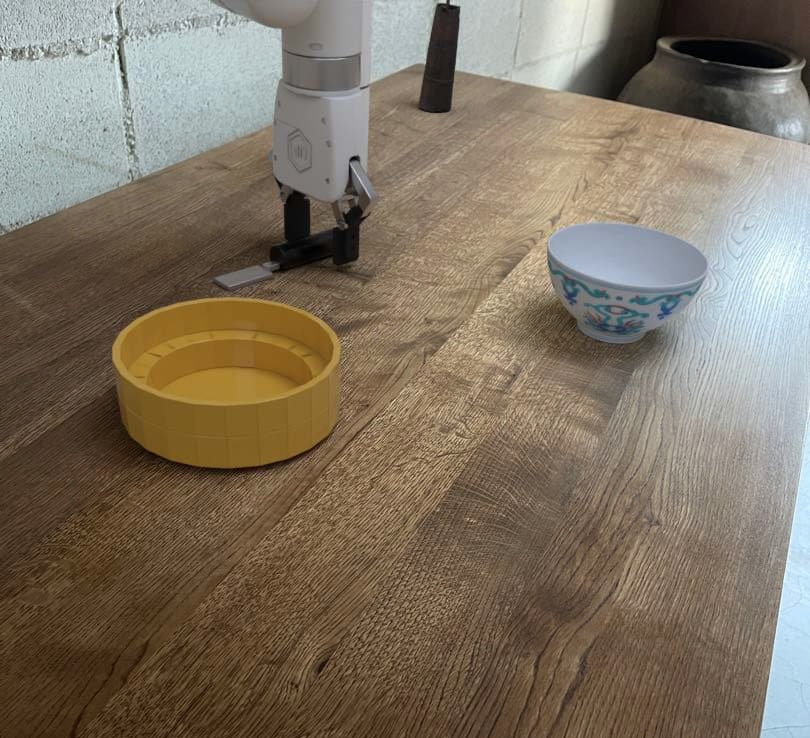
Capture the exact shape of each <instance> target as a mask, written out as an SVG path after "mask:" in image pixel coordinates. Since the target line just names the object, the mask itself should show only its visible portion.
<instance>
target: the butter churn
mask: <svg viewBox="0 0 810 738" xmlns="http://www.w3.org/2000/svg"><path fill="white" fill-rule="evenodd" d="M460 14H461V5H456V4H451V0H446V1H445V2H438V3H437V4H435V10H434V15H433V20H432V25H431V30H430V36H429V41H428V46H427V47H428V48H427V52H426V58H425V60H426V61H425V66H424V72H423V75H422V82H421V87H420V94H419V101H418V108H419V109H420V110H423V111H426V112H430V113H437V112H450V111H451V110H452V105H453V104H452V103H453V102H452V101H453V90H454V83H455V74H456V73H455V71H456V66H457V55H458V47H459V45H458V43H459V33H460V23H461V17H460V16H461V15H460Z"/></svg>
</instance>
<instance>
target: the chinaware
mask: <svg viewBox="0 0 810 738" xmlns="http://www.w3.org/2000/svg"><path fill="white" fill-rule="evenodd" d="M546 257H547V258H546V259H547V268H548V273H549V279H550V281H551V284H552V287H553V289H554V293H555V294H556V296H557V298H558V300H559V302H560V303H561V304H562V306H563V307H564V308H565V309H566V311H567V312H568V313H569V314H570V315H571V316H572V317H573V318H575V319H576V325H577V328H578V330H580V332H582V333H583V334H584V335H586V336H587V337H589V338H592V339H593V340H597V341H600V342H604V343H609V344H616V345H617V344H619V345H623V344H632V343H635V342H638V341H640V340H641V339H643V338H644V337H645V336H646V333H647V332H649V331H652V330H654V329H657V328H659V327H662V326H663V325H665V324H666V323H668V322H670V321H671V320H673V319H674V318H675V317H677V316H678V315H679V314H680V313H681V312H682V311H683V310H684V309H685V308H686V307H687V306H688V305H689V304H690V303H691V301H693V299H694V298H695V296H696V294H697V293H698V292H699V290H700V289H701V287H702V285H703V283H704V281H705V280H706V277H707V275H708V273H709V271H710V261H709V259H708V257H707V255H706V254H705V253H704V252H703V251H702V250H701V249H700V248H698V247H697V246H696V245H694V244H693V243H691V242H689V241H687V240H686V239H683V238H681V237H679V236H677V235H674V234H671V233H669V232H666V231H663V230H659V229H655V228H653V227H647V226H644V225H637V224H632V223H623V222H610V221H609V222H608V221H595V222H582V223H576V224H572V225H567V226H564V227H562V228H560V229H558V230H556V231H555V232H553V233H552V234H551V235H550V237H548V240H547V243H546Z"/></svg>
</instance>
